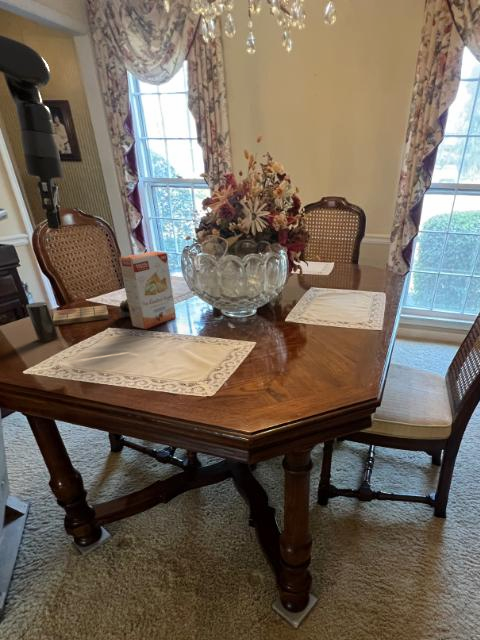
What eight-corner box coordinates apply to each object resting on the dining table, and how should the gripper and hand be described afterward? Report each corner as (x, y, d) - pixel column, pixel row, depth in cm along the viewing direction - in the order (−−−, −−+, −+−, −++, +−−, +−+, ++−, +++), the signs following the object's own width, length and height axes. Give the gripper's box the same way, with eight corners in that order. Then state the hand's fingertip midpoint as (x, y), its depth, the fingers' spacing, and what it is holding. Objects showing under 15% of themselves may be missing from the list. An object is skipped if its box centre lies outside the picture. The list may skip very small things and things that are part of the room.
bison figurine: (116, 318, 125) (109, 288, 121) (129, 312, 131) (123, 283, 126) (148, 322, 123) (142, 290, 118) (160, 315, 129) (155, 285, 124)
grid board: (54, 325, 119) (52, 320, 119) (55, 315, 129) (54, 310, 128) (109, 318, 126) (108, 313, 125) (106, 309, 135) (105, 304, 134)
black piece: (37, 343, 106) (25, 307, 101) (38, 337, 110) (26, 303, 105) (58, 340, 108) (46, 305, 103) (58, 334, 112) (47, 301, 107)
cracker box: (146, 330, 116) (132, 258, 106) (132, 327, 118) (116, 256, 108) (177, 317, 127) (167, 251, 117) (164, 315, 129) (152, 250, 119)
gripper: (28, 153, 97) (42, 223, 104) (18, 150, 86) (35, 228, 93) (62, 158, 100) (73, 225, 107) (57, 155, 89) (70, 230, 96)
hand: (55, 226), depth 100 cm, fingers open, 8 cm apart
